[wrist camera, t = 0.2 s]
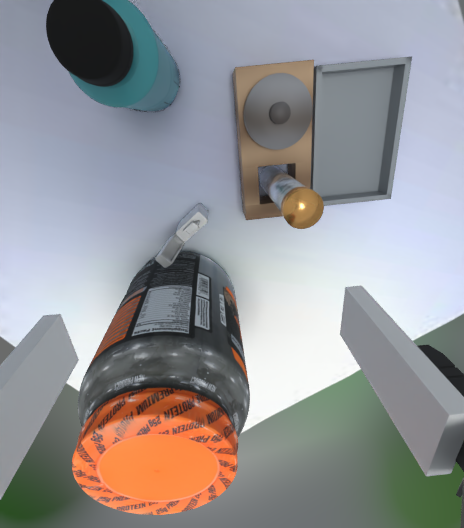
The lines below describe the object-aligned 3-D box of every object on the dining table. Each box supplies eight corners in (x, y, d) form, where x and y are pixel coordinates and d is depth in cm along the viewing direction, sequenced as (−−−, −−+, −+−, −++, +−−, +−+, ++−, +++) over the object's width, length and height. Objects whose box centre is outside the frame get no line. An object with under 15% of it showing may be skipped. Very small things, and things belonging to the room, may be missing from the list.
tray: (308, 69, 33) (316, 65, 31) (397, 61, 34) (412, 56, 31) (306, 201, 40) (312, 207, 38) (379, 193, 40) (390, 198, 38)
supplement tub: (211, 345, 50) (211, 538, 27) (119, 316, 46) (28, 512, 23) (252, 268, 44) (297, 432, 21) (150, 229, 41) (69, 375, 17)
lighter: (199, 202, 39) (197, 220, 32) (208, 211, 40) (208, 231, 33) (163, 236, 41) (153, 261, 34) (172, 245, 42) (164, 270, 35)
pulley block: (232, 73, 33) (237, 62, 27) (302, 66, 33) (322, 54, 27) (243, 211, 40) (248, 226, 34) (300, 205, 40) (316, 219, 34)
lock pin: (257, 166, 38) (283, 191, 24) (283, 163, 38) (324, 187, 24) (258, 192, 39) (284, 230, 26) (284, 189, 39) (322, 226, 26)
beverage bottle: (187, 56, 32) (158, -24, 14) (175, 121, 35) (138, 122, 17) (127, 35, 31) (11, -82, 13) (119, 104, 34) (15, 85, 16)
